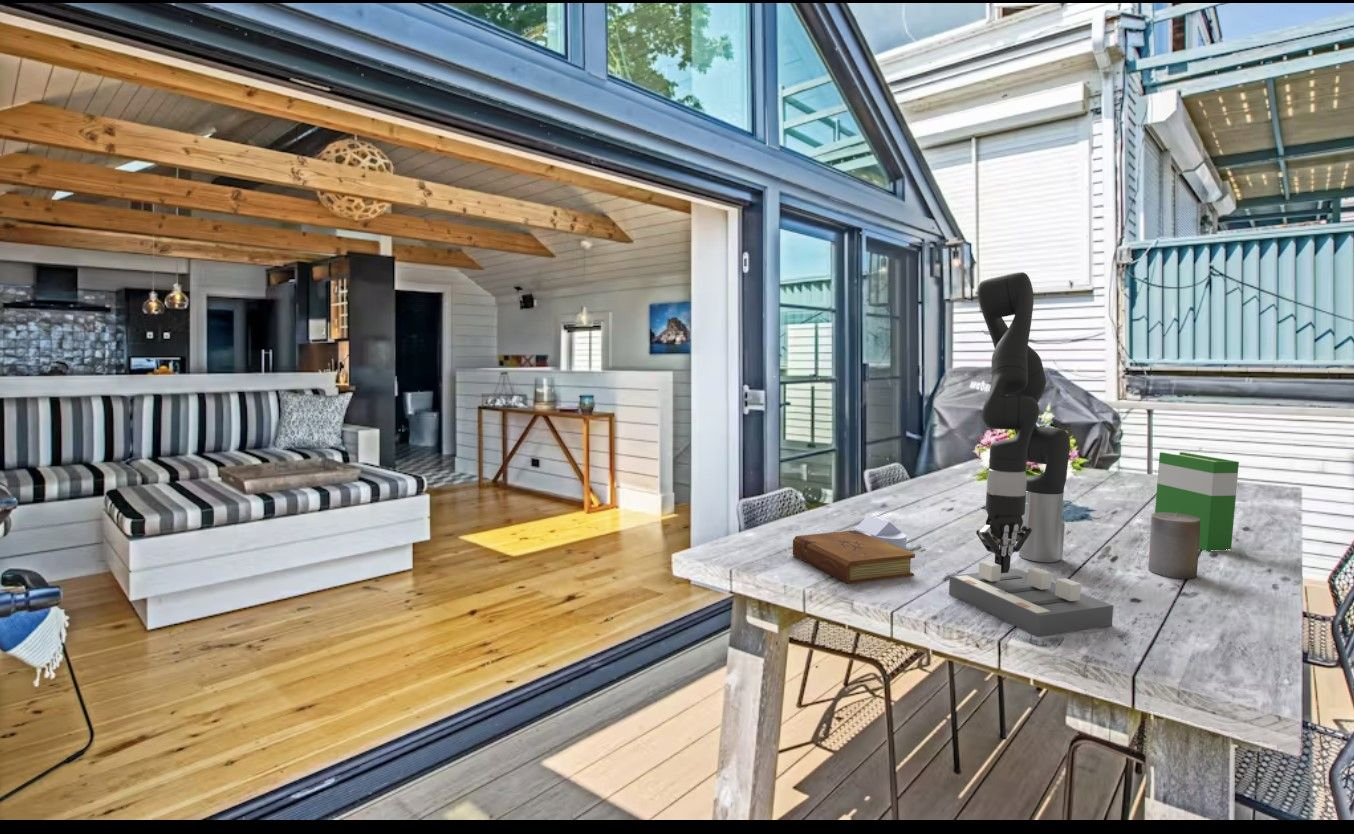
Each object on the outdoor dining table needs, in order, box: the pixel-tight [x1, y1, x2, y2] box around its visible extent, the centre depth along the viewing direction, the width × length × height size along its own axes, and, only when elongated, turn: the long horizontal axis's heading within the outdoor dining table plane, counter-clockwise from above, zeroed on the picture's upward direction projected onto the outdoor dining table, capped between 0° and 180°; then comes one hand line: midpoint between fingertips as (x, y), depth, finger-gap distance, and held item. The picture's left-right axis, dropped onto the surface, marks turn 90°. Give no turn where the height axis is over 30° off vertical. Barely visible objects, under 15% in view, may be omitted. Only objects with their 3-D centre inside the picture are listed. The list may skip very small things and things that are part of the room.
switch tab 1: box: [978, 560, 1001, 582], centre depth 151 cm, size 2×4×3 cm, turn 19°
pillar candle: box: [1147, 511, 1200, 580], centre depth 171 cm, size 10×10×15 cm
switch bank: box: [948, 568, 1114, 638], centre depth 145 cm, size 18×24×4 cm
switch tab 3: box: [1055, 577, 1082, 601], centre depth 139 cm, size 2×4×3 cm, turn 19°
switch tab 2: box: [1027, 567, 1052, 590], centre depth 146 cm, size 2×4×3 cm, turn 19°
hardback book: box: [1154, 451, 1240, 552], centre depth 199 cm, size 18×7×24 cm, turn 9°
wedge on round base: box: [854, 514, 907, 550], centre depth 193 cm, size 9×7×13 cm
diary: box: [792, 529, 916, 585], centre depth 173 cm, size 23×19×6 cm
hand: (1001, 572), depth 151 cm, fingers closed
